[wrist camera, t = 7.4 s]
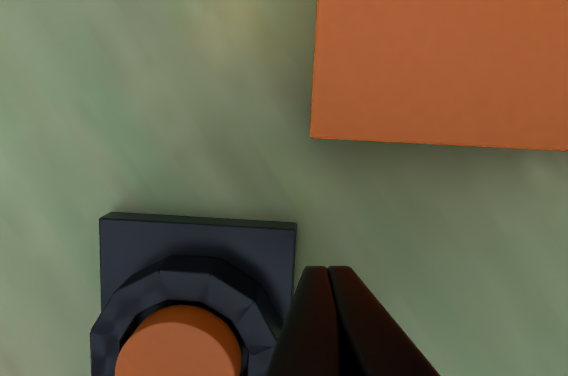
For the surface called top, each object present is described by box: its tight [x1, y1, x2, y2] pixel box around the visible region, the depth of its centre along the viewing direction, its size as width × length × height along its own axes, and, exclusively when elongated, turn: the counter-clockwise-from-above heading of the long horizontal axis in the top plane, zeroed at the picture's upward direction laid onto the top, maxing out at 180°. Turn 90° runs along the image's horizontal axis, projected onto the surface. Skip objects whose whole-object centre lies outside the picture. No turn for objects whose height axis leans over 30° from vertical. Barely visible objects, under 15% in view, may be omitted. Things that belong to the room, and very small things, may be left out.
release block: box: [90, 212, 297, 376], centre depth 20 cm, size 10×8×3 cm
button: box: [115, 305, 242, 376], centre depth 18 cm, size 4×4×2 cm
